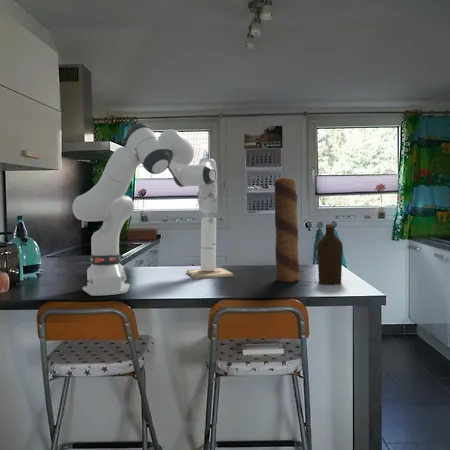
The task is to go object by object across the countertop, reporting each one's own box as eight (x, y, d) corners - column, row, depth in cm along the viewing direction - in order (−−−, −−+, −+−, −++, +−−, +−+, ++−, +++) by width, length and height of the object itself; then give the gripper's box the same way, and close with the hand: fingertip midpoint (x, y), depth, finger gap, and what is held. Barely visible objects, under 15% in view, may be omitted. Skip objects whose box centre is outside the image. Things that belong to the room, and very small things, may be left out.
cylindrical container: (218, 270, 224) (219, 217, 223) (207, 271, 219) (208, 218, 218) (208, 268, 229) (209, 217, 228) (197, 269, 224) (198, 217, 223)
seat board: (233, 276, 219) (233, 272, 219) (195, 279, 214) (195, 275, 213) (221, 270, 236) (221, 267, 236) (186, 273, 231) (186, 269, 231)
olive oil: (345, 284, 194) (345, 224, 193) (319, 285, 194) (319, 225, 193) (339, 280, 205) (339, 223, 203) (315, 280, 205) (314, 223, 204)
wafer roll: (270, 280, 207) (269, 178, 205) (284, 277, 215) (283, 178, 213) (289, 283, 200) (288, 177, 198) (303, 279, 208) (302, 177, 206)
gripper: (220, 192, 214) (221, 223, 214) (208, 193, 233) (209, 221, 234) (207, 192, 212) (208, 223, 212) (196, 193, 231) (196, 221, 232)
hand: (208, 222), depth 223 cm, fingers closed on cylindrical container, 7 cm apart
